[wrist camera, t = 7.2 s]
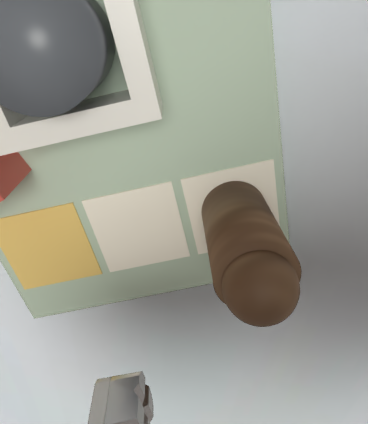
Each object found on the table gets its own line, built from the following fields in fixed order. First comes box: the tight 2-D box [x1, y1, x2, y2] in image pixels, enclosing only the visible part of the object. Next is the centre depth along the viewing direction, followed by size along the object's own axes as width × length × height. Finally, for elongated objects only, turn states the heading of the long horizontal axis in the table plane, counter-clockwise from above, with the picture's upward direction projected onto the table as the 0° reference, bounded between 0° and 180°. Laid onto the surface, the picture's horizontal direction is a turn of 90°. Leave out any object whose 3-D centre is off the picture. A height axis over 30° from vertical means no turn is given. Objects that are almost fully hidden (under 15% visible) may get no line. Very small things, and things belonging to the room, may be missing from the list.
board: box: [0, 0, 289, 318], centre depth 18 cm, size 17×20×1 cm
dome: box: [0, 0, 115, 117], centre depth 13 cm, size 4×4×4 cm
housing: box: [0, 0, 163, 156], centre depth 14 cm, size 7×7×3 cm
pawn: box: [201, 181, 301, 327], centre depth 16 cm, size 4×4×8 cm
